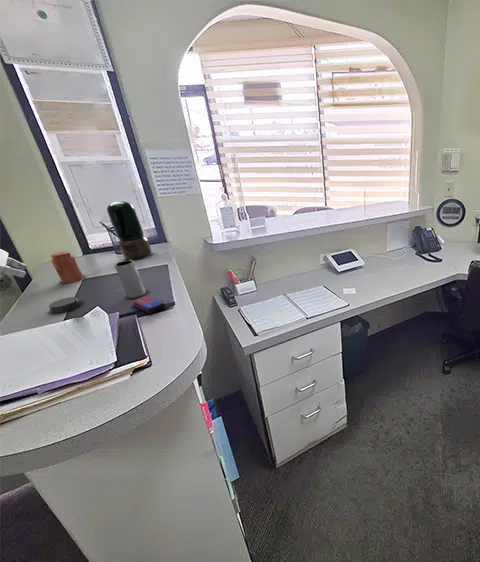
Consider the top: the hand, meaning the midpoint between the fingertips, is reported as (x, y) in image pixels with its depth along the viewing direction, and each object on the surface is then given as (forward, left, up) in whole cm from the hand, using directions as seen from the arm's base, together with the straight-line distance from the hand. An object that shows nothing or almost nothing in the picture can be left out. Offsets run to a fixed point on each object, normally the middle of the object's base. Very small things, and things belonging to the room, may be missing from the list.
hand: (25, 271), depth 97 cm
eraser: (+29, -41, -7) cm, 51 cm away
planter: (+26, -29, -7) cm, 40 cm away
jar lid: (+10, -25, -5) cm, 27 cm away
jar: (+9, +2, -6) cm, 11 cm away
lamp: (+28, +15, -7) cm, 33 cm away
